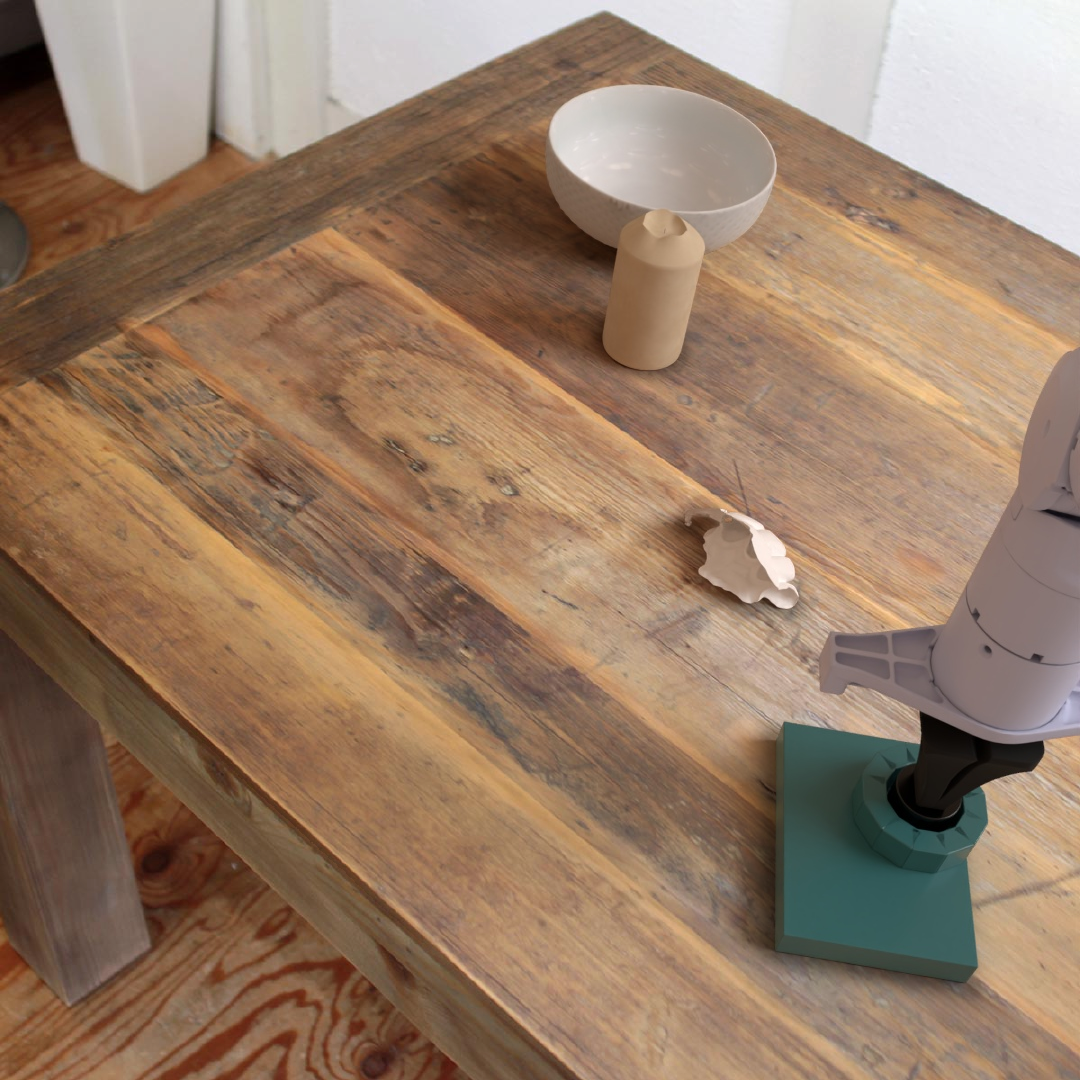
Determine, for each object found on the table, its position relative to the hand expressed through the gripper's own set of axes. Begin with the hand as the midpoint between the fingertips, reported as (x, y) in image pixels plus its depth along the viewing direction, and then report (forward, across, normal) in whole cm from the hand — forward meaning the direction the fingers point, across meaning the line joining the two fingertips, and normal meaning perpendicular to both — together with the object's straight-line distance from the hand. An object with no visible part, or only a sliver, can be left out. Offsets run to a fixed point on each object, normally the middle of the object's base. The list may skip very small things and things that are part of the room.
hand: (928, 790), depth 64 cm
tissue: (+4, +9, -16) cm, 19 cm away
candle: (+4, +16, -36) cm, 39 cm away
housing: (+4, +2, +2) cm, 5 cm away
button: (+2, 0, 0) cm, 2 cm away
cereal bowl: (+4, +17, -50) cm, 53 cm away
